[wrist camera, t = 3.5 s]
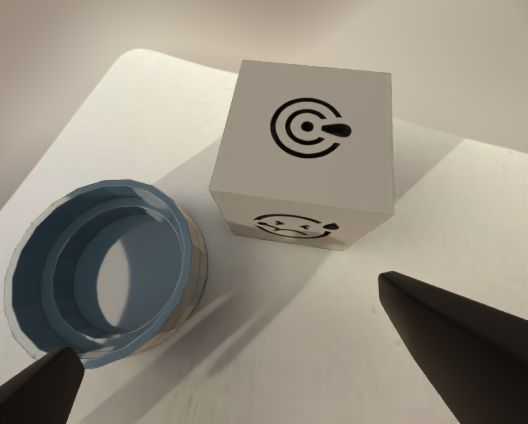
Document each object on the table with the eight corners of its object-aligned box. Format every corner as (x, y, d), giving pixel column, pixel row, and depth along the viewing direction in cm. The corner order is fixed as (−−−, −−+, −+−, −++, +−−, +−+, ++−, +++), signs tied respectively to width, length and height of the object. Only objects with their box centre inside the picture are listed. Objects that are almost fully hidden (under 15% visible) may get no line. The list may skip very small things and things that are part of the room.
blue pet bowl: (136, 390, 19) (91, 421, 14) (31, 290, 22) (-35, 287, 17) (237, 251, 22) (228, 237, 18) (135, 180, 25) (104, 152, 21)
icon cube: (346, 157, 25) (391, 73, 16) (341, 251, 22) (394, 214, 13) (252, 145, 26) (242, 59, 17) (234, 234, 23) (208, 189, 14)
